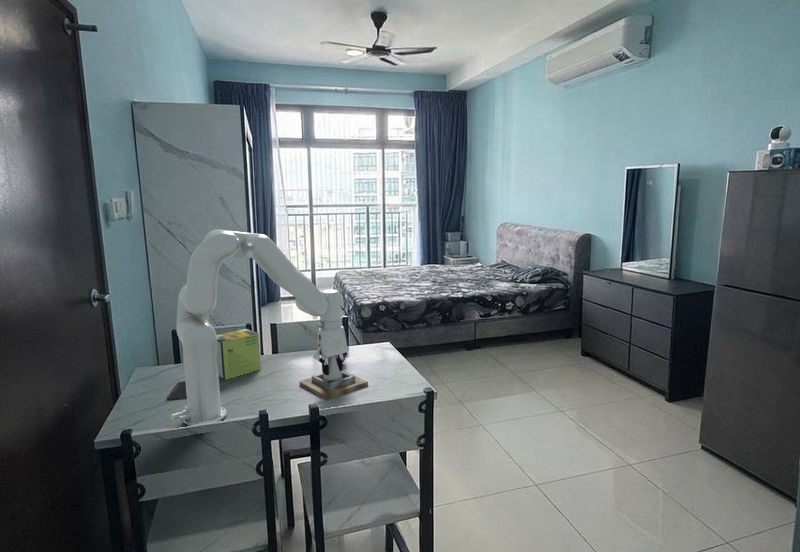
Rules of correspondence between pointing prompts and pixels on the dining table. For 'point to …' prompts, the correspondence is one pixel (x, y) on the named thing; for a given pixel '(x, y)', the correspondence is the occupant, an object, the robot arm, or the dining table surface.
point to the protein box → (237, 353)
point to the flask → (333, 370)
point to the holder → (333, 385)
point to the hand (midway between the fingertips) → (332, 371)
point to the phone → (178, 391)
